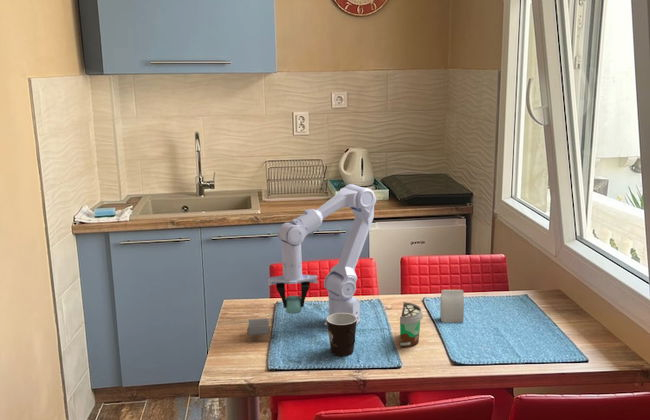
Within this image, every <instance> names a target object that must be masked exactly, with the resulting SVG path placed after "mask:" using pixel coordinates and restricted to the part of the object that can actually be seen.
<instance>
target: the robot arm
mask: <svg viewBox="0 0 650 420" xmlns="http://www.w3.org/2000/svg"><path fill="white" fill-rule="evenodd" d="M376 202H377V197H376V195H375V193H374V191H373V190H372V189H370V188H367V187H362V186H358V185H356V184H353V183H350V184H347V185H345V186H344V187H342V188H341V189H339V191H338V192H337V194H335V195H334V196H333V197H331V198H330V199H328V200H327V201H326V202H324V203H323V204H322V205H320V206H319V207H318V208H316V209H315V208H310V209H308V208H307V209H305V210H304V213H302V214H300V215H299V216H298V217H296V218H293V219H292V220H291V222H288V221H287V222H284V223H283V224H281V226H280V227H279V229H278V232H277V237H278V239H279V240H280V241H281V257H282V258H281V260H282V261H281V263H282V264H281V265H282V275H278V276H269V277H268V279H267V281H268V283H267V284H268V286H273V285H275V288H276V291H277V293H278V294H279V296H280V299H281V301H282V305H283V308H284V309H286V290H285V289H286V285H294V284H296V285H297V284H300V291H301V292H300V293H301V295H300V297H301V308H304V305H305V301H306V298H307V297H306V296H307V295H308V294H307V293H308V292H309V289H310V286H311V285H310V284H312V283H313V284H318V274H317V275H316V274H313V275H312V274H303V264H302V263H303V262H302V261H303V260H302V243H303V242H304V240H305V238H306V236H308V234H310V233H311V232H313V231H314V230H315V229H317V228H319V227H320V226H321V225H322V224H323V220H324V219H326V218H327V217H329V216H330V215H332V214H334V213H336V212H337V211H339V210H341V209H342V208H350V209H351V211H352V213H353V216H354V220H353V221H352V225H351V227H350V230H349V233H348V235H347V239H346V241H345V244H344V245H343V246H344V247H343V249H342V252H341V254H340V257H339V260H338V263H336V264H335V265H333V266H332V267H331V269H330V271H329V273H328V274H327V275H326V276H325V277H324V280H323V285H324V289H326V291H327V294H328V316H329V315H332V314H335V313H349V314H353V315H355V316H356V317H357V324H356V326H357V325H358V324H359V323H360V322H361V321H362V319H361V305H360V304H361V303H360V302H361V301H360V299H359V298H357V297H354V295H355V293H356V291H357V285H356V284H357V281H358V276H357V274H356V266H357V264H358V261H359V259H360V256H361V254H362V250H363V248H364V245H365V242H366V239H367V237H368V234H369V232H370V229H371V226H372V223H373V220H374V218H375V204H376ZM324 325H325V326H327V321H325V322H324Z"/></svg>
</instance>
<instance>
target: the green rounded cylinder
mask: <svg viewBox="0 0 650 420" xmlns="http://www.w3.org/2000/svg"><path fill="white" fill-rule="evenodd" d="M285 298H286V308H285V313H287V314H290V315H291V314H293V315H295V314H296V315H297V314H299V313H301V312H302V307H301V295H300V296H299V295H288V296H285Z"/></svg>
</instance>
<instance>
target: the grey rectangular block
mask: <svg viewBox="0 0 650 420" xmlns="http://www.w3.org/2000/svg"><path fill="white" fill-rule="evenodd" d="M440 291H441V293H440V294H441V295H440V308H439V309H440V315H439V316H440V317H439V318H440V321H442V322H441V323H464V318H465V317H464V315H465V314H464V312H465V307H464V306H465V300H464V298H465V297H464V296H465V295H464V289H441V290H440Z"/></svg>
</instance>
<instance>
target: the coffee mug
mask: <svg viewBox="0 0 650 420" xmlns="http://www.w3.org/2000/svg"><path fill="white" fill-rule="evenodd" d="M326 322H327V325H326V326H327V331H328V338H329V346H330V351H331V354H332V355H334V356H337V357H347V356H350V355H352V354H354V351H355V350H354V349H355V343H356V331H357V325H358V324H357V317H356V316H355V315H353V314H349V313H335V314H332V315H329V314H328V316H327V317H326ZM356 324H357V325H356Z"/></svg>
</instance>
